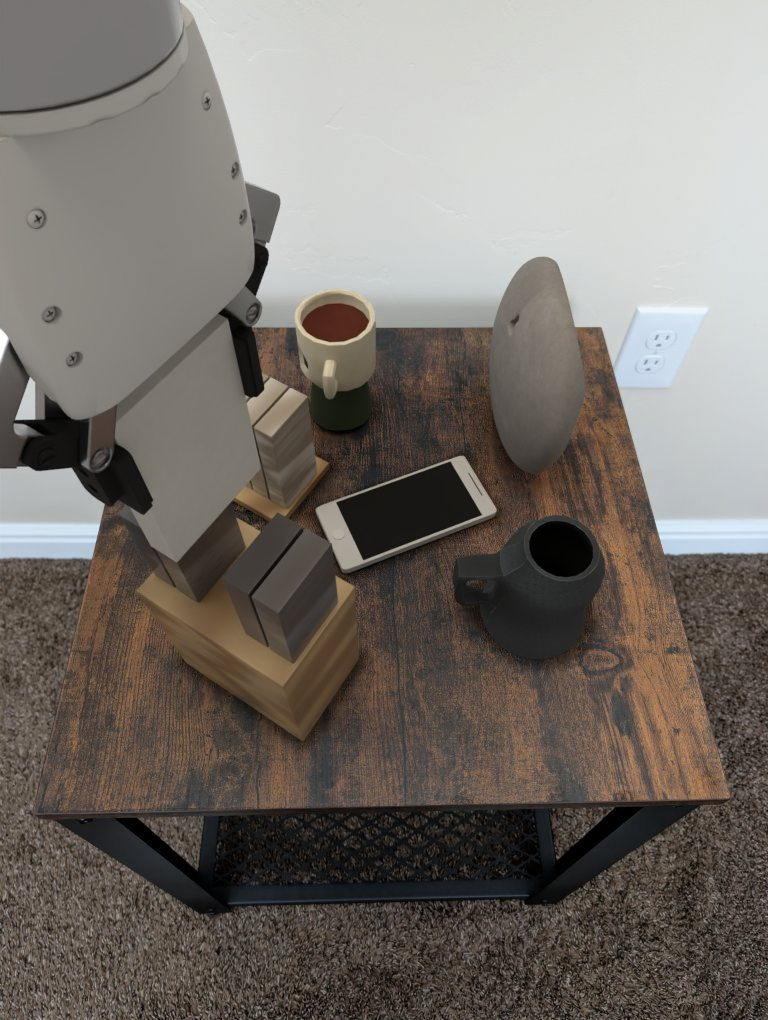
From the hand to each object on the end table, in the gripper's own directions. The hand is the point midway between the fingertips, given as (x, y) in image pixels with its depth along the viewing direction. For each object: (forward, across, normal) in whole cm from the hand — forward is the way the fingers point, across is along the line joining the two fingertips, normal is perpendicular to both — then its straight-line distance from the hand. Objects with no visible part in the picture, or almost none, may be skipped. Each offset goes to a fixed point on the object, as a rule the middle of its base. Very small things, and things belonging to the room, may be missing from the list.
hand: (181, 434), depth 32 cm
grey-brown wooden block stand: (+31, -15, -13) cm, 37 cm away
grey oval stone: (+30, -32, +7) cm, 45 cm away
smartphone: (+30, -18, +3) cm, 36 cm away
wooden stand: (+30, 0, +1) cm, 30 cm away
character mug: (+31, -25, -9) cm, 41 cm away
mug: (+30, -15, +16) cm, 38 cm away
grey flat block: (+6, 0, 0) cm, 6 cm away
